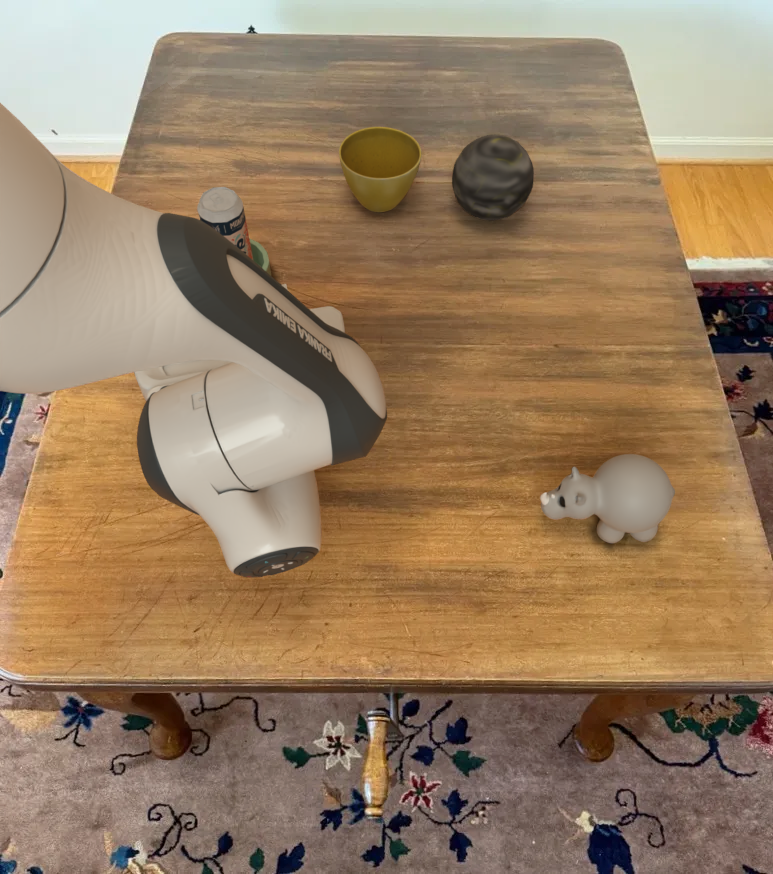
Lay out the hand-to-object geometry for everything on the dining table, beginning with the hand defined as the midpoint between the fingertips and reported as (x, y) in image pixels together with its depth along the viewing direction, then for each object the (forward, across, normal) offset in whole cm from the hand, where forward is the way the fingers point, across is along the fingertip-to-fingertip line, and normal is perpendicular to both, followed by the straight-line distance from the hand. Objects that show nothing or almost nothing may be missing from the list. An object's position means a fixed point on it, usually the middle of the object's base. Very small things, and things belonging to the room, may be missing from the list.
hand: (232, 296), depth 75 cm
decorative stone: (+17, -33, +9) cm, 38 cm away
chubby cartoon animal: (-27, -30, +9) cm, 42 cm away
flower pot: (+22, -20, +9) cm, 31 cm away
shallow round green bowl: (+11, 0, +9) cm, 14 cm away
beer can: (+10, 0, +9) cm, 14 cm away
